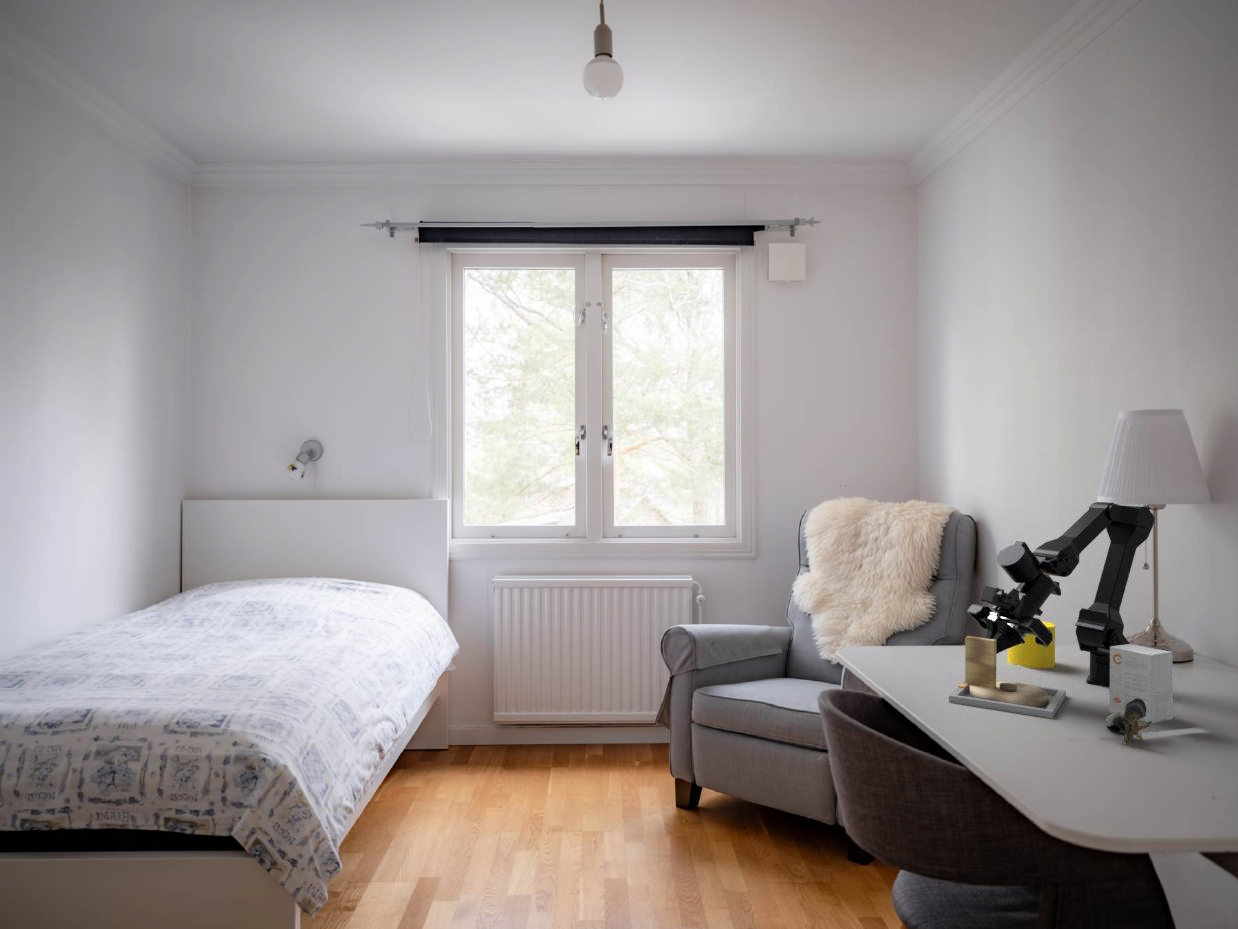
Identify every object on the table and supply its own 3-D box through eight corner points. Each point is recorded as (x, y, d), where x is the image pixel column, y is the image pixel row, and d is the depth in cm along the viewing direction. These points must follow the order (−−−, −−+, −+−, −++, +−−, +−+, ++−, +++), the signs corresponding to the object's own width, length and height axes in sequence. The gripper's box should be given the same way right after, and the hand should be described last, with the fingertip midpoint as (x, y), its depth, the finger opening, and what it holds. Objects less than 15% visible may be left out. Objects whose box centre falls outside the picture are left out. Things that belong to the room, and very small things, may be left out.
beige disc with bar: (1056, 697, 167) (1057, 641, 167) (1036, 713, 156) (1036, 653, 156) (978, 684, 177) (978, 631, 176) (954, 698, 166) (954, 642, 166)
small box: (1173, 723, 154) (1174, 651, 154) (1151, 728, 151) (1152, 655, 151) (1129, 711, 161) (1130, 643, 161) (1108, 715, 158) (1108, 646, 158)
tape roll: (1036, 670, 192) (1037, 629, 192) (998, 661, 201) (998, 621, 201) (1064, 665, 197) (1064, 625, 197) (1025, 656, 206) (1025, 618, 206)
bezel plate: (970, 685, 179) (970, 675, 179) (1065, 700, 168) (1065, 688, 168) (948, 706, 164) (948, 694, 164) (1052, 722, 153) (1052, 710, 153)
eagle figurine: (1166, 742, 140) (1157, 718, 148) (1140, 706, 140) (1132, 683, 148) (1121, 760, 143) (1114, 735, 151) (1095, 724, 144) (1090, 701, 152)
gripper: (973, 566, 180) (930, 621, 177) (1039, 577, 162) (992, 640, 159) (1005, 600, 183) (962, 655, 180) (1073, 615, 165) (1027, 677, 162)
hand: (984, 656), depth 170 cm, fingers closed
